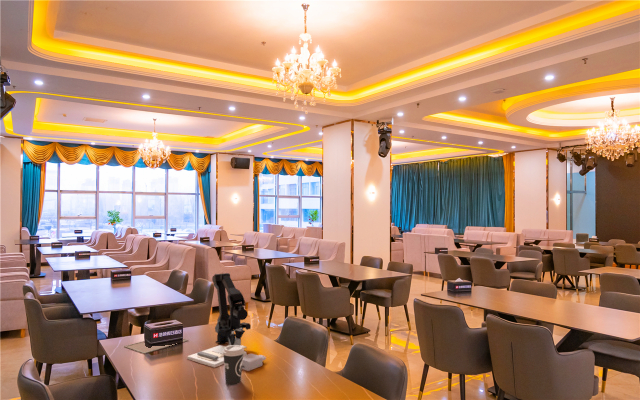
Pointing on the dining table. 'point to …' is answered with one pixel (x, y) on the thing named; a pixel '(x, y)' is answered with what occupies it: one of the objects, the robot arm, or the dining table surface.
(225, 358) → the coffee cup
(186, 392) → the dining table surface
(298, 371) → the dining table surface
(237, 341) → the cream plate grey block
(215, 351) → the board
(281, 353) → the dining table surface
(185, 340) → the picture frame
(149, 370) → the dining table surface
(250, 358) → the charger
